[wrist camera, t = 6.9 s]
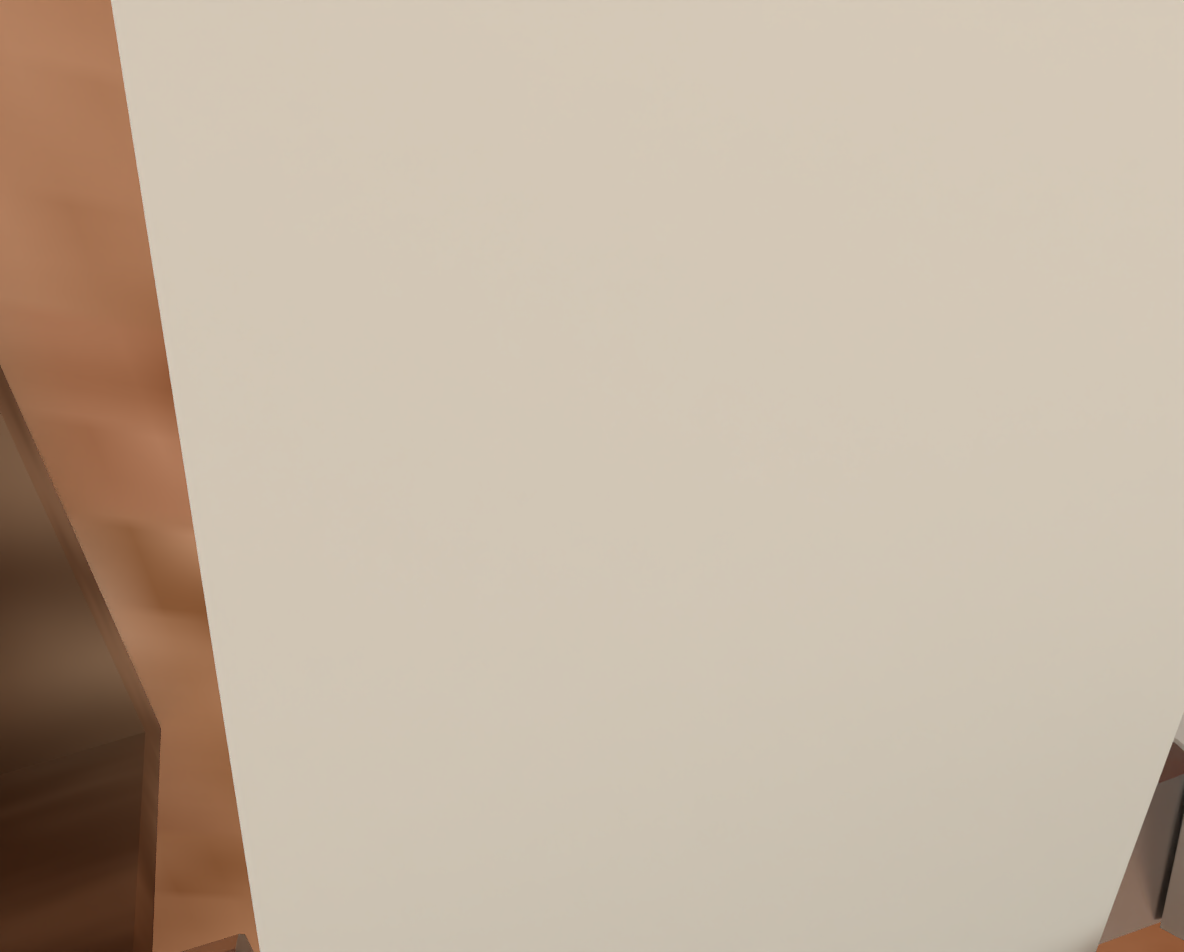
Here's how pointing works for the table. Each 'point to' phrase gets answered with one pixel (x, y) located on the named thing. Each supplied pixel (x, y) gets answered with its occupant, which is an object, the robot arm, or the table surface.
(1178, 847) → the robot arm
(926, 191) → the white rectangular block
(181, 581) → the table surface
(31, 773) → the brown open-topped frame
